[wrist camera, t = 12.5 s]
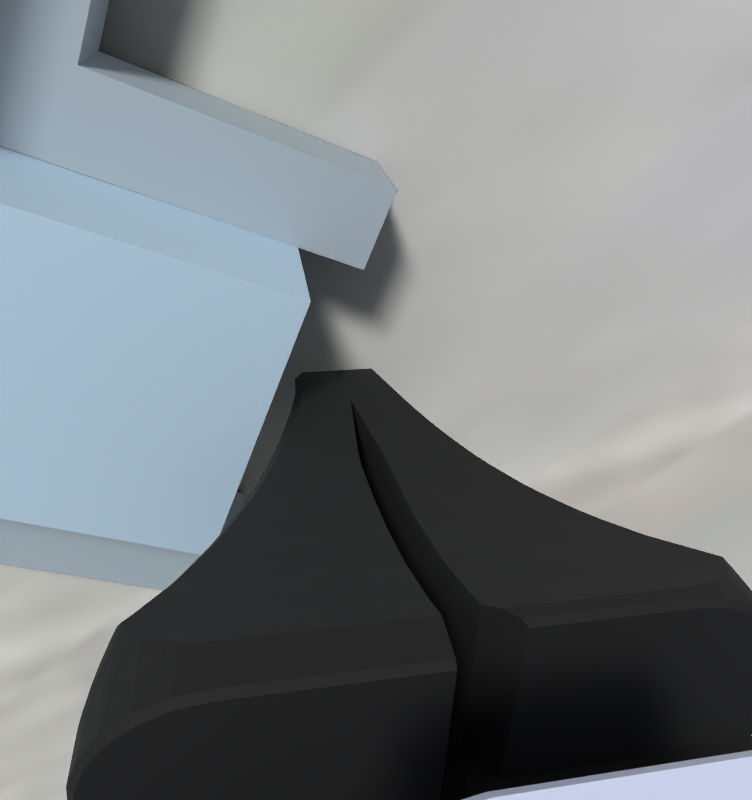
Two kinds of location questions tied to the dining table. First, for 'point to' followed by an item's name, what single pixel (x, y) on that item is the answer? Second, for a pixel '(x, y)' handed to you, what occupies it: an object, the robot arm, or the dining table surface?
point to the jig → (165, 197)
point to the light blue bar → (132, 356)
